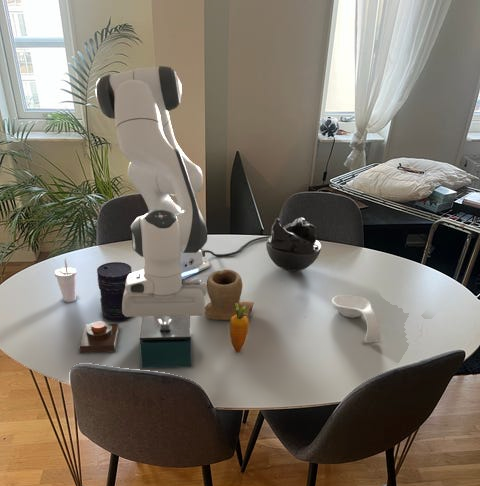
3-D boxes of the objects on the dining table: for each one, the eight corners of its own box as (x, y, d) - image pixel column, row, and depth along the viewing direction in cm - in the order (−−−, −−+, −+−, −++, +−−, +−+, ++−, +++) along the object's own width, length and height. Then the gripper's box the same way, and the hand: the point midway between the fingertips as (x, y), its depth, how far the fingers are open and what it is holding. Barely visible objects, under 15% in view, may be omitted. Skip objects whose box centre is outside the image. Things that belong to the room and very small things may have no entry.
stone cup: (202, 325, 139) (202, 280, 131) (205, 305, 149) (206, 262, 141) (253, 328, 139) (256, 283, 131) (253, 308, 149) (256, 265, 141)
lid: (191, 339, 116) (191, 336, 116) (139, 340, 115) (139, 337, 114) (189, 312, 130) (189, 309, 129) (143, 312, 128) (143, 310, 128)
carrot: (228, 347, 130) (230, 300, 122) (245, 347, 130) (249, 300, 122) (229, 357, 126) (231, 309, 118) (247, 357, 126) (251, 309, 118)
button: (105, 333, 126) (104, 328, 125) (91, 333, 126) (90, 328, 125) (106, 326, 129) (106, 320, 128) (93, 326, 129) (92, 321, 128)
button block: (115, 352, 125) (113, 339, 123) (80, 353, 124) (78, 340, 122) (119, 329, 135) (118, 317, 133) (86, 330, 134) (85, 318, 131)
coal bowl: (326, 266, 178) (333, 219, 169) (303, 285, 164) (309, 235, 154) (280, 253, 187) (284, 207, 177) (254, 270, 172) (257, 221, 163)
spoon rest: (325, 304, 153) (328, 285, 150) (358, 302, 156) (362, 283, 152) (354, 345, 134) (359, 324, 130) (392, 342, 136) (397, 321, 132)
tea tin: (191, 366, 122) (190, 342, 117) (141, 368, 120) (139, 343, 116) (189, 335, 134) (189, 312, 130) (145, 336, 132) (143, 313, 128)
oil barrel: (141, 309, 145) (138, 265, 137) (124, 325, 137) (120, 279, 129) (113, 303, 147) (108, 259, 139) (95, 318, 139) (89, 272, 131)
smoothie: (74, 305, 145) (67, 264, 138) (55, 302, 146) (47, 261, 139) (84, 295, 150) (78, 255, 143) (65, 292, 151) (59, 253, 144)
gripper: (206, 274, 115) (205, 321, 122) (121, 274, 113) (125, 323, 120) (207, 285, 110) (206, 335, 117) (118, 286, 107) (123, 336, 115)
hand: (165, 329), depth 118 cm, fingers closed, pressing on lid
